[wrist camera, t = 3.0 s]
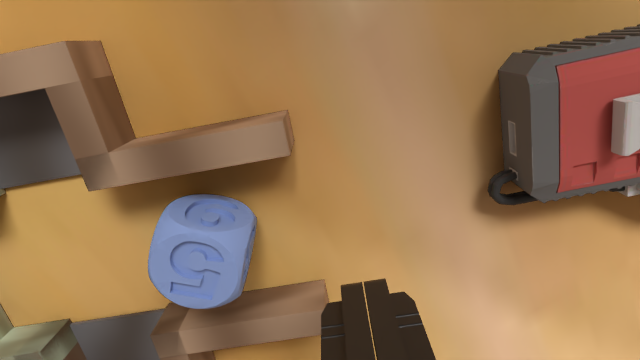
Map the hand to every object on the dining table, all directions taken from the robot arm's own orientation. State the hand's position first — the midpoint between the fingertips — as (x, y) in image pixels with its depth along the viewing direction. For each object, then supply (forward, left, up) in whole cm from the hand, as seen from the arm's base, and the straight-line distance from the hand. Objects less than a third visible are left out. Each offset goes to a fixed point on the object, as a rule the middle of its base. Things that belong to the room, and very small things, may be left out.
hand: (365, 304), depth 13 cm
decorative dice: (+7, 0, -8) cm, 10 cm away
